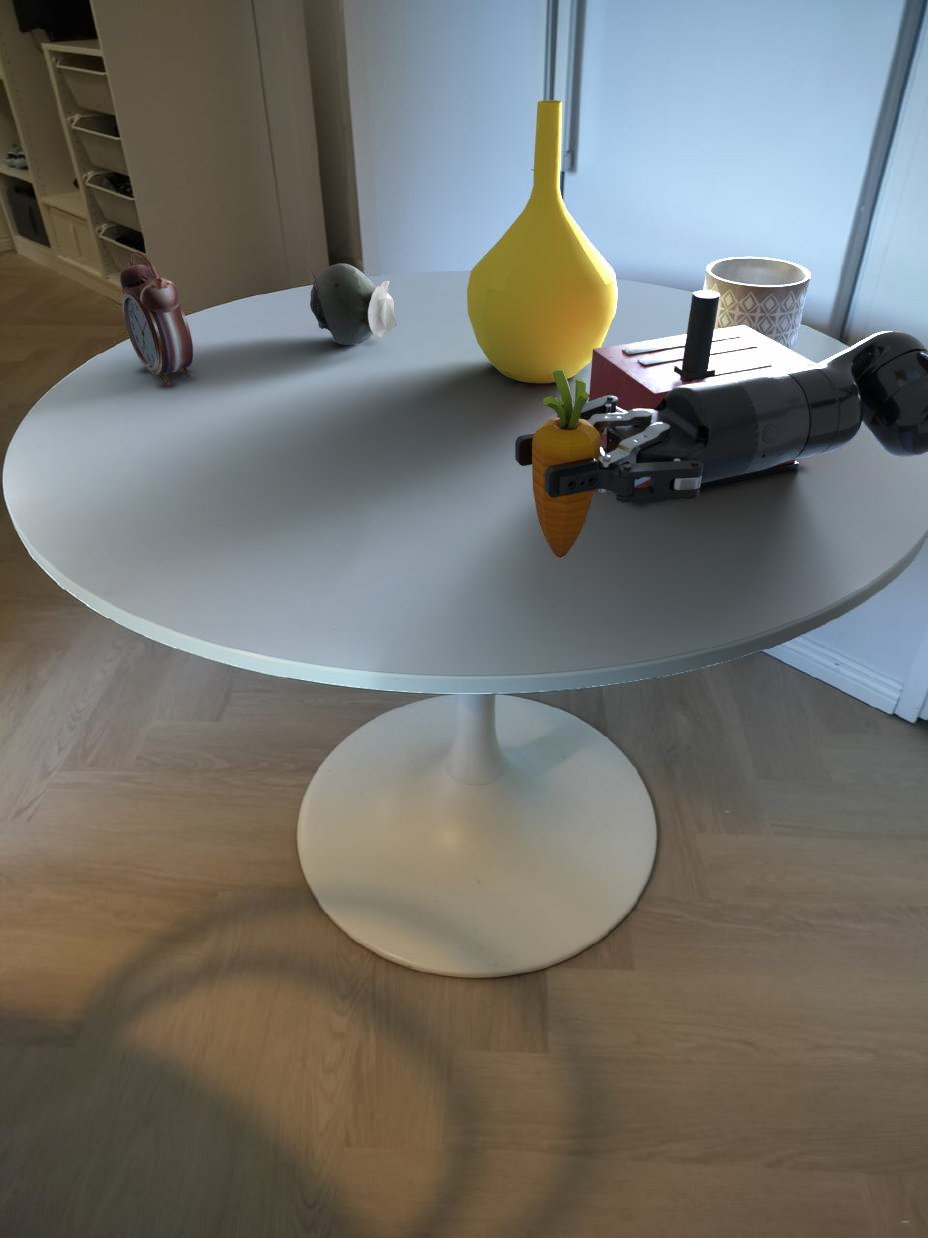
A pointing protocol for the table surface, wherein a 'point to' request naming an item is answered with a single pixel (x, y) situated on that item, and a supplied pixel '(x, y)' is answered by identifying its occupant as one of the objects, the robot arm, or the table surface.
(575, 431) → the carrot
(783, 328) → the planter
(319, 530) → the table surface
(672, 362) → the knife block
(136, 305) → the alarm clock
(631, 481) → the robot arm
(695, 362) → the slider
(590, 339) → the vase
